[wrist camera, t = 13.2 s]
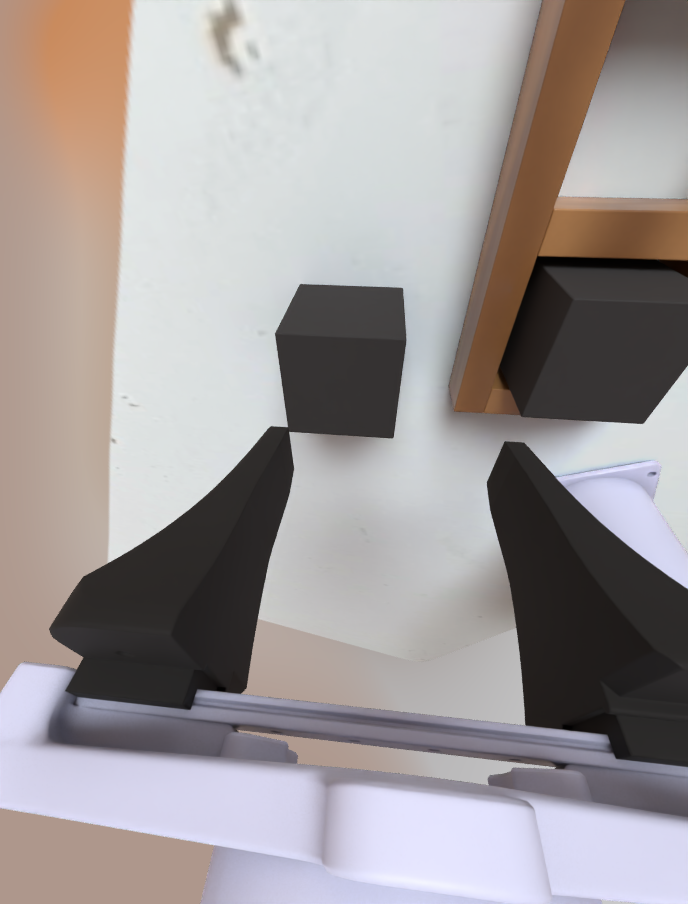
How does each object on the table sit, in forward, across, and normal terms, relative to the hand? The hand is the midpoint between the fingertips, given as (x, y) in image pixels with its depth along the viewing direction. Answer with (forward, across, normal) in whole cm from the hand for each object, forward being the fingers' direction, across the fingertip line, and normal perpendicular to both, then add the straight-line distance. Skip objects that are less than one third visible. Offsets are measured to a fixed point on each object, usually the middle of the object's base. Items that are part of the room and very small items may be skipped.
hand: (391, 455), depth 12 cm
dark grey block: (+10, -8, -1) cm, 13 cm away
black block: (+10, +2, 0) cm, 10 cm away
